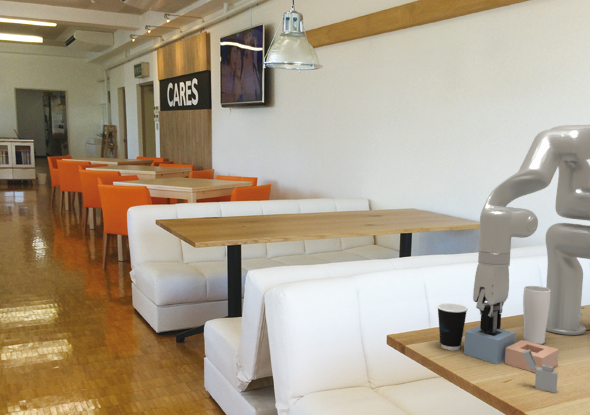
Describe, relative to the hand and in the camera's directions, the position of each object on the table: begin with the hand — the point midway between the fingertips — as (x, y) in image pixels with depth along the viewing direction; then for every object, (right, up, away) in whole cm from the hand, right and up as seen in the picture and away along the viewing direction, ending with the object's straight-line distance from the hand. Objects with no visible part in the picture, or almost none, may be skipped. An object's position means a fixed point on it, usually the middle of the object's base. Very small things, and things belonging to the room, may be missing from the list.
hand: (490, 328), depth 138 cm
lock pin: (0, -6, +1) cm, 6 cm away
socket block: (0, -7, +1) cm, 7 cm away
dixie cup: (-9, -7, +6) cm, 12 cm away
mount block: (+8, -8, -5) cm, 12 cm away
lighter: (+4, -9, -19) cm, 21 cm away
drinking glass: (+16, -6, +11) cm, 21 cm away
